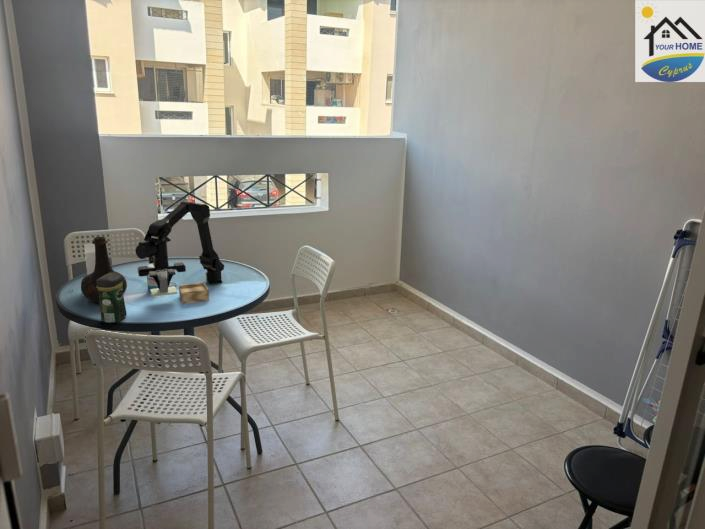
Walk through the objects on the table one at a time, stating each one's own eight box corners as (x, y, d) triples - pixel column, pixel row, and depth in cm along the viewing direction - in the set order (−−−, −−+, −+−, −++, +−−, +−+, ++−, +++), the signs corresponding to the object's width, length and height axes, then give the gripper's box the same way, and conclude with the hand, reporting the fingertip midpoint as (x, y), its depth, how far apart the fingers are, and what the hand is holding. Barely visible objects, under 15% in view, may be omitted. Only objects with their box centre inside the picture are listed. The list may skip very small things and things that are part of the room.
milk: (104, 291, 233) (99, 244, 226) (89, 293, 231) (83, 245, 224) (104, 287, 238) (99, 241, 232) (90, 288, 236) (84, 242, 229)
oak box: (204, 293, 235) (203, 282, 233) (209, 300, 226) (208, 289, 225) (179, 296, 230) (178, 285, 228) (183, 304, 221) (182, 292, 220)
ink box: (157, 292, 234) (155, 267, 231) (147, 291, 235) (145, 266, 231) (167, 286, 242) (165, 262, 239) (158, 285, 243) (155, 261, 239)
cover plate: (174, 287, 227) (173, 274, 225) (177, 293, 220) (176, 279, 218) (150, 290, 222) (149, 276, 220) (152, 296, 216) (151, 282, 214)
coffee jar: (111, 313, 209) (105, 270, 204) (129, 315, 209) (124, 271, 203) (97, 323, 200) (91, 278, 195) (117, 324, 199) (111, 279, 194)
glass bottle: (79, 297, 225) (70, 235, 217) (122, 289, 236) (115, 230, 228) (87, 310, 212) (79, 244, 204) (133, 301, 222) (126, 239, 214)
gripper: (180, 246, 227) (182, 280, 232) (134, 250, 219) (138, 285, 223) (184, 252, 217) (187, 287, 222) (137, 257, 209) (140, 293, 214)
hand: (163, 288), depth 221 cm, fingers closed on cover plate, 3 cm apart
